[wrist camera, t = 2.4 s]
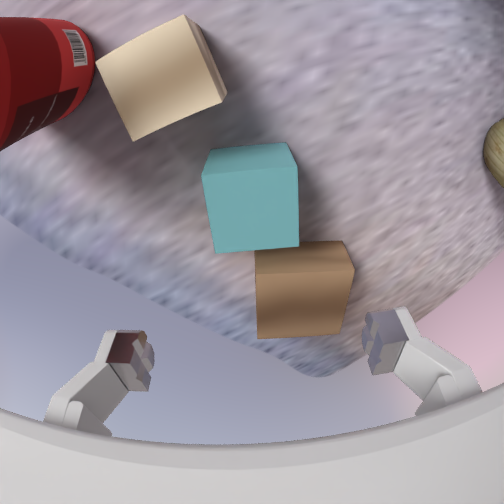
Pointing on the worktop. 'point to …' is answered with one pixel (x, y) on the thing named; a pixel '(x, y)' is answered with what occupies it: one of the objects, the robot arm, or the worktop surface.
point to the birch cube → (162, 77)
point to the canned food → (40, 74)
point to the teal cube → (252, 197)
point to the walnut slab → (302, 289)
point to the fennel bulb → (495, 151)
